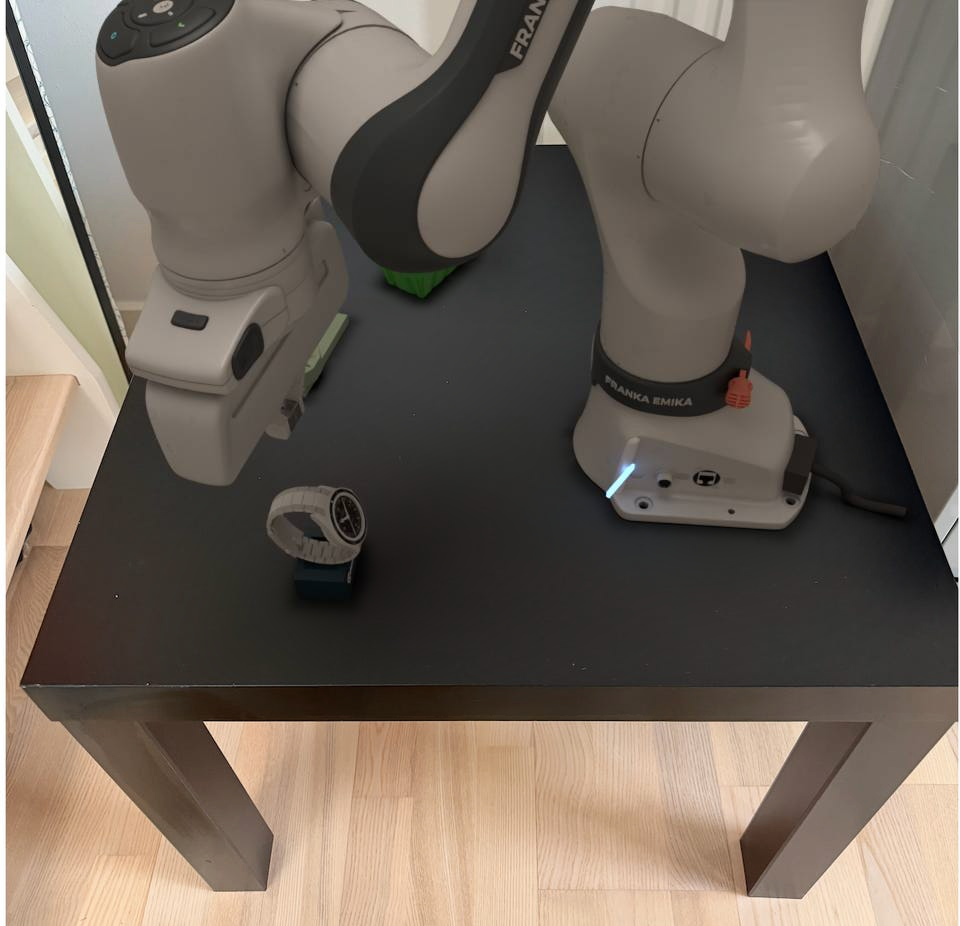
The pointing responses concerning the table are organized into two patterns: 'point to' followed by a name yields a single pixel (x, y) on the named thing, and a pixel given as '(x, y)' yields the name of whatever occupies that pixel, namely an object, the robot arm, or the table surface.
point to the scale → (323, 351)
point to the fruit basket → (416, 280)
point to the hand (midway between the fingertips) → (286, 424)
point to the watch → (320, 539)
